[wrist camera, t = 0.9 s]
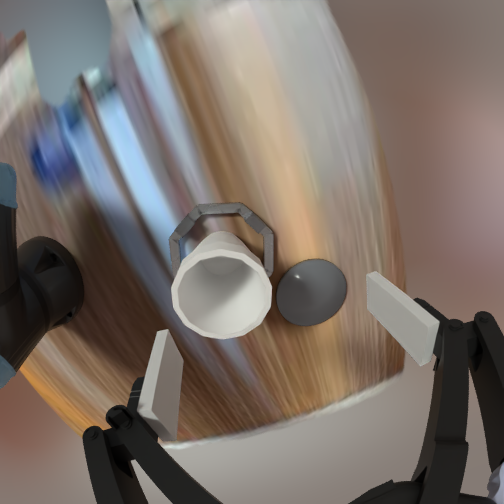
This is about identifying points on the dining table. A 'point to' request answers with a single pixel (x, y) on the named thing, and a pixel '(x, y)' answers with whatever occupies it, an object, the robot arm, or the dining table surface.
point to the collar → (217, 209)
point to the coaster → (310, 292)
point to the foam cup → (221, 288)
